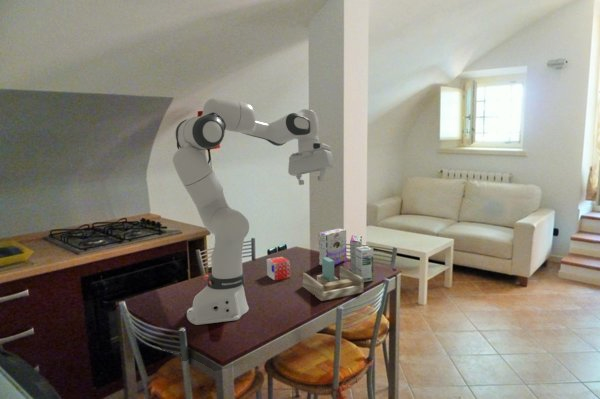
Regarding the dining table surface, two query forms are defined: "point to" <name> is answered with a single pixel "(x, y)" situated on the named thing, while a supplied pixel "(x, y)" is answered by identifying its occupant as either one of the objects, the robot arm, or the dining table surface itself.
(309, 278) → the frame
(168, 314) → the dining table surface
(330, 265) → the teal panel
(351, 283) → the upper offcut
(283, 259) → the red white patterned cube
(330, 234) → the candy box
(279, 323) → the dining table surface
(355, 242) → the candy bar box
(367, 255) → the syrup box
